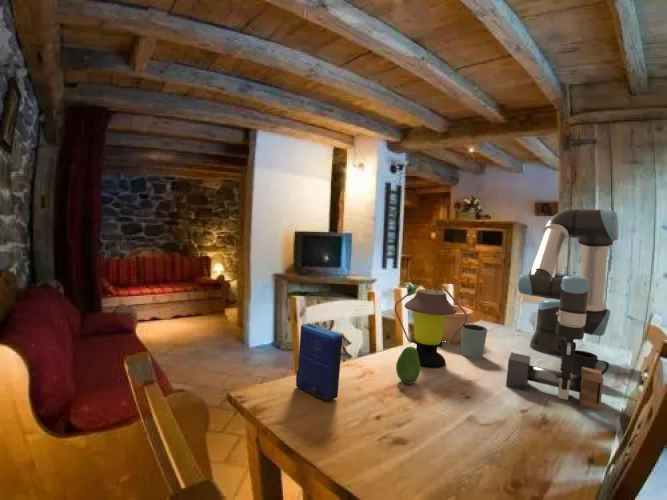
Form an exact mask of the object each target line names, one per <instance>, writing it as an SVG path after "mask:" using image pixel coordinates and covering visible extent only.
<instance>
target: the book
mask: <svg viewBox="0 0 667 500" xmlns="http://www.w3.org/2000/svg"><path fill="white" fill-rule="evenodd" d="M342 348H343V334H342V333H341V332H339V331H334V330H330V329H327V328H324V327H320V326H317V325H315V324H312V323H307V324H306V323H303V324H301V326H300V336H299V349H298V350H299V351H298V365H297V366H298V367H297V371H296V375H295V386H296V387H297V388H298V389H301V390H303V391H304V392H306V393H308V394H310V395H312V396H315V397H317V398H319V399H321V400H323V401H325V400H326V401H329V402H330V401H333V400H334V399H336V398H338V397H339V396H338V395H339V382H340V372H341V358H342V357H341V356H342Z"/></svg>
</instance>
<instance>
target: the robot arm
mask: <svg viewBox="0 0 667 500" xmlns="http://www.w3.org/2000/svg"><path fill="white" fill-rule="evenodd" d="M618 221H619V219H618V214H617V212H616V211H614V210H612V209H611V210H609V209H608V210H607V209H577V208H569V209H564V210H562V211H560V212H558V213H556V214H555V215H553V216H551V217H550V218H549V219H548V220H547V221H546V222H545V224H544V225H543V227H542V229H541V230H542V231H541V236H542V237H541V241H540V244H539V246H538V248H537V251H536V252H535V256H534V259H533V262H532V264H531V266H530V269H529V272H528V273H521V274H520V275H519V279H518V283H517V288H518V292H519V293H520V294H522V295H527V296H530V297H532V296H533V297H539V298H543V299H540V300H539V302H538V306H537V315H536V324H535V325H536V326H535V331H534V332H533V335H532V336H531V339H530V341H529V346H530V348H532V349H533V350H535V351H537V352H541V353H545V354H550V355H557V356H561V361H560V362H561V363H560V372H561V375H560V376H558V378H560V383H559V388H558V387H557V392H558V395H557V398H559V399H562V400H567V401H568V400H569V399H568V398H569V395H570V394H569V393H570V392H569V391H570V390H569V385H570V379H571V374H572V370H571V368H572V359H573V358H574V352H575V350H577V343H576V342H575V341H574V340H583V339H584V337H585V334H586V335H590V336H597V337H598V336H599V337H602V336H604V335H605V333H606V330H607V327H608V323H609V320H610V316H611V310H610V309H607V308H608V306H607V304H606V303H605V302H604V293H605V292H604V291H605V280H606V271H607V270H606V269H607V259H608V249H609V248H610V247H611V246H613V245H614V242H615V241H618V240H619V222H618ZM568 238H573V239H578V240H577V243H578V244H579V246H581V255H580V256H581V258H580V272H579V273H580V274H579V276H578V275H564V276H563V277H554V273H555V269H556V266H557V263H558V260H559V257H560V254H561V251H562V248H563V245H564V242H566V241H568Z"/></svg>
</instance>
